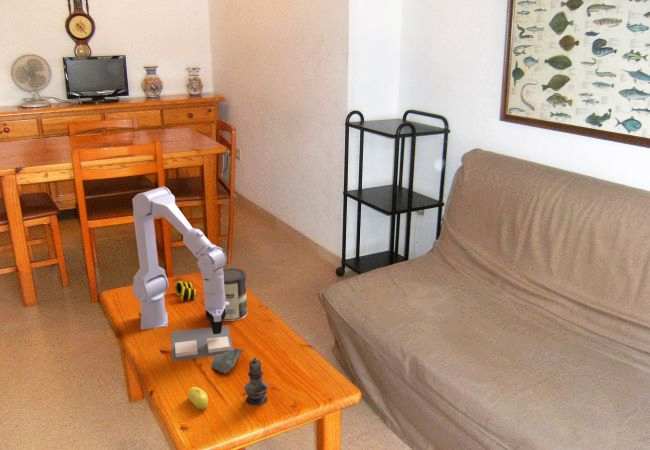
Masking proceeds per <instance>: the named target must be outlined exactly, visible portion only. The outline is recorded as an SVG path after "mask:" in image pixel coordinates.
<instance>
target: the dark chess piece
mask: <svg viewBox="0 0 650 450" xmlns="http://www.w3.org/2000/svg"><path fill="white" fill-rule="evenodd" d="M248 366H249V369H248V370H249V372H248V374H247V375H248V377H249V382H248V383H246V384H245V385H244V387H243V389H244V391H245V393H246V395H247V396H246V397H245V401H246V404H248V405H249V406H252V407H257V406H263V405H264V404H266V403H267V401H268V396H267V395H266V394H267V392H268V388H269V384H268V382H265V381H263V374H264V372H263V371H262V361H261V360H259V359H257V358H256V356H254V358H253V359H252V360H250V361H249V365H248Z"/></svg>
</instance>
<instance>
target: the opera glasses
mask: <svg viewBox="0 0 650 450" xmlns="http://www.w3.org/2000/svg"><path fill="white" fill-rule="evenodd" d="M174 290H175V294H176V295H178V296H180V298H181V299H180V301H181V302H184V301H190V300H195V299H196V295H197V292H196V291H197V290H196V289H195V288H194V289H193V284H192V283H191V282H186V281H185V282H182V281H180V280H177V281H176V282H175V284H174Z"/></svg>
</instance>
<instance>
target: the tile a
mask: <svg viewBox="0 0 650 450" xmlns="http://www.w3.org/2000/svg"><path fill="white" fill-rule="evenodd" d="M175 354H176V358H184V357H191V356H198V351H197V342H196V340H194V341H186V342H178V343H175Z"/></svg>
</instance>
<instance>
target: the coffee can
mask: <svg viewBox="0 0 650 450" xmlns="http://www.w3.org/2000/svg"><path fill="white" fill-rule="evenodd" d="M223 273H224V290H225V302H226V301H228V302H229V305H230V306H227V307H225V311H226V316H225V318H224V320H223V322H224V321H225V322H233V321H239V320H242V319H243V318H245V317H247V315H248V301H247V283H246V282H247V281H246V280H247V279H246V276H247V274H246V271H245V270H242V269H241V268H234V267H233V268H223Z"/></svg>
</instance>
